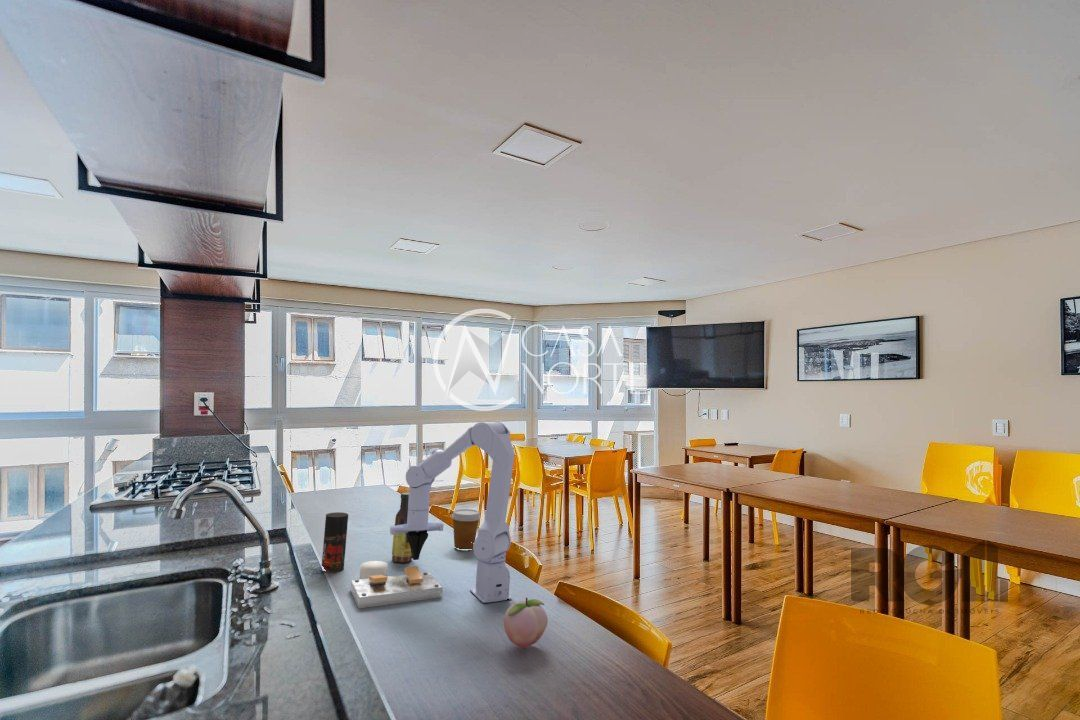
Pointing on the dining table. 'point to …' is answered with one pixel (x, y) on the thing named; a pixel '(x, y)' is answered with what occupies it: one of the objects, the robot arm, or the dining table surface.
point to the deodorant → (334, 542)
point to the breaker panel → (394, 590)
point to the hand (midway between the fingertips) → (415, 558)
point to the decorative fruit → (525, 622)
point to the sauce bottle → (401, 534)
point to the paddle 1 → (378, 578)
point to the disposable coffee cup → (465, 527)
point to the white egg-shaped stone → (373, 569)
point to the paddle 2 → (413, 575)
